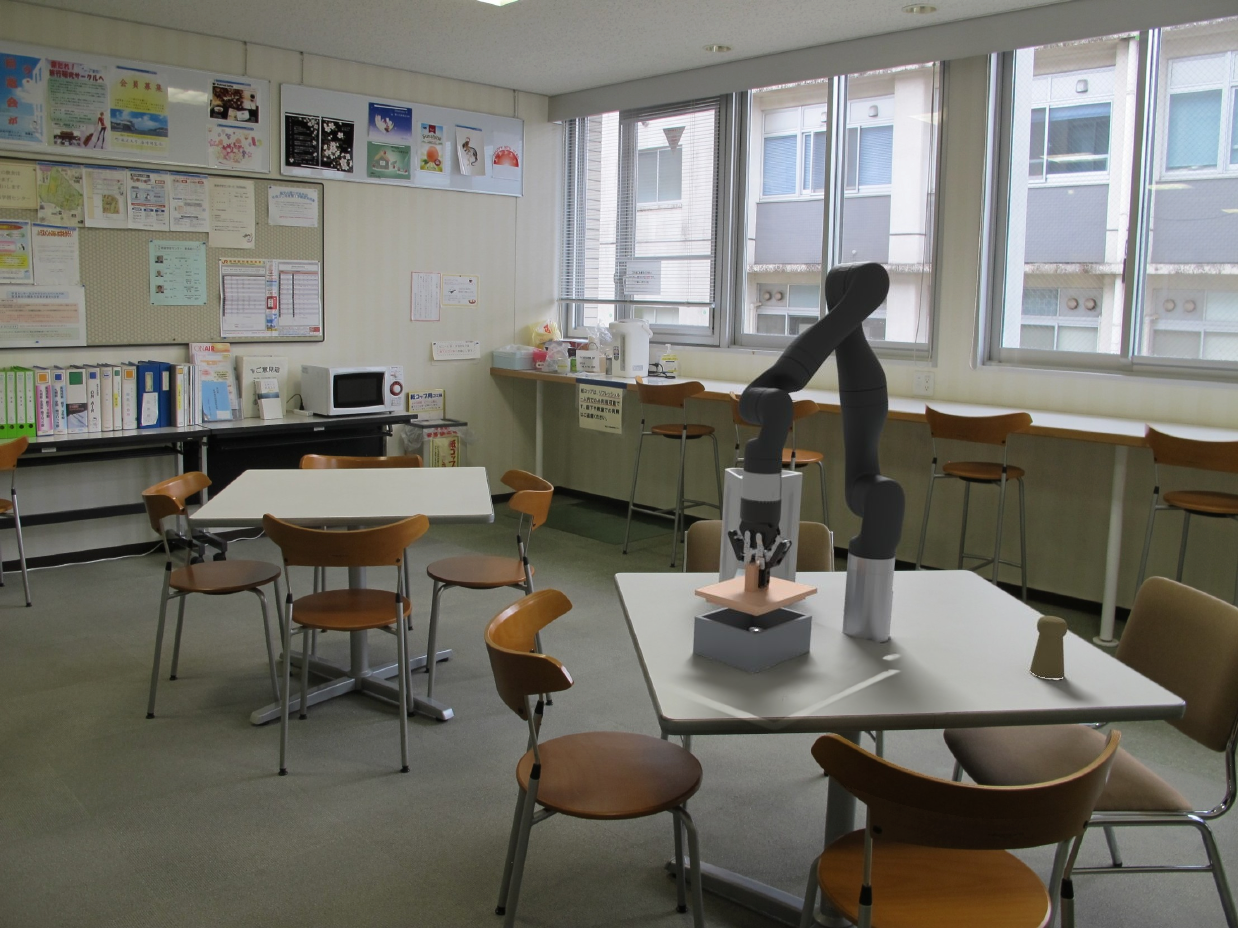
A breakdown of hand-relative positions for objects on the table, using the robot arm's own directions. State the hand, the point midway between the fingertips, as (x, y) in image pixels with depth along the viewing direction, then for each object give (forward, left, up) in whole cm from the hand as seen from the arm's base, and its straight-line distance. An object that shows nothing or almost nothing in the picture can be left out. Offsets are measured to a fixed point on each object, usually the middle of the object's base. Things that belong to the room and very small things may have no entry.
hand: (756, 585), depth 187 cm
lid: (0, 0, -3) cm, 3 cm away
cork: (-35, +42, -14) cm, 56 cm away
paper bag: (-37, -28, -14) cm, 48 cm away
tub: (0, 0, -14) cm, 14 cm away
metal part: (-4, -2, -13) cm, 14 cm away
